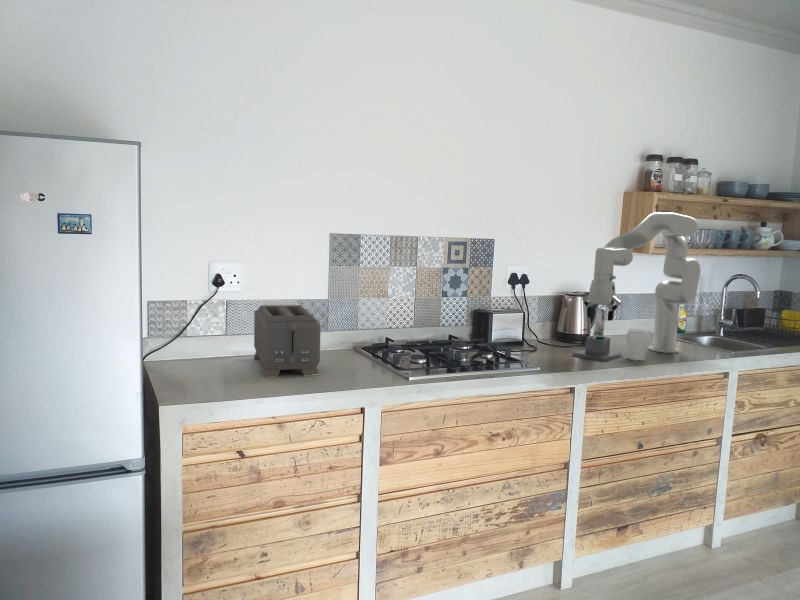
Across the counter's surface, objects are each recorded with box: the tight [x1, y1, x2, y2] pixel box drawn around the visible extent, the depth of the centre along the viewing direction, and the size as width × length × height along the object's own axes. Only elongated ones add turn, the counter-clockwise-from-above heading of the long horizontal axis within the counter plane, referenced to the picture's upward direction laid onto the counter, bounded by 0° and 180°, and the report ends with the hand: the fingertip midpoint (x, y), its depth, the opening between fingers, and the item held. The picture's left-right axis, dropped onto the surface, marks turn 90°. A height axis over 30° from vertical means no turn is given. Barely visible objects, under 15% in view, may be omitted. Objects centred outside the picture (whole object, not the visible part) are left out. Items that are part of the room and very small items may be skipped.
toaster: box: [253, 304, 321, 378], centre depth 232 cm, size 19×35×20 cm, turn 18°
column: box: [592, 307, 607, 339], centre depth 273 cm, size 4×4×13 cm
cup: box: [626, 328, 651, 361], centre depth 273 cm, size 9×9×12 cm
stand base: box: [572, 335, 622, 363], centre depth 275 cm, size 16×14×9 cm
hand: (599, 318), depth 273 cm, fingers open, 8 cm apart
